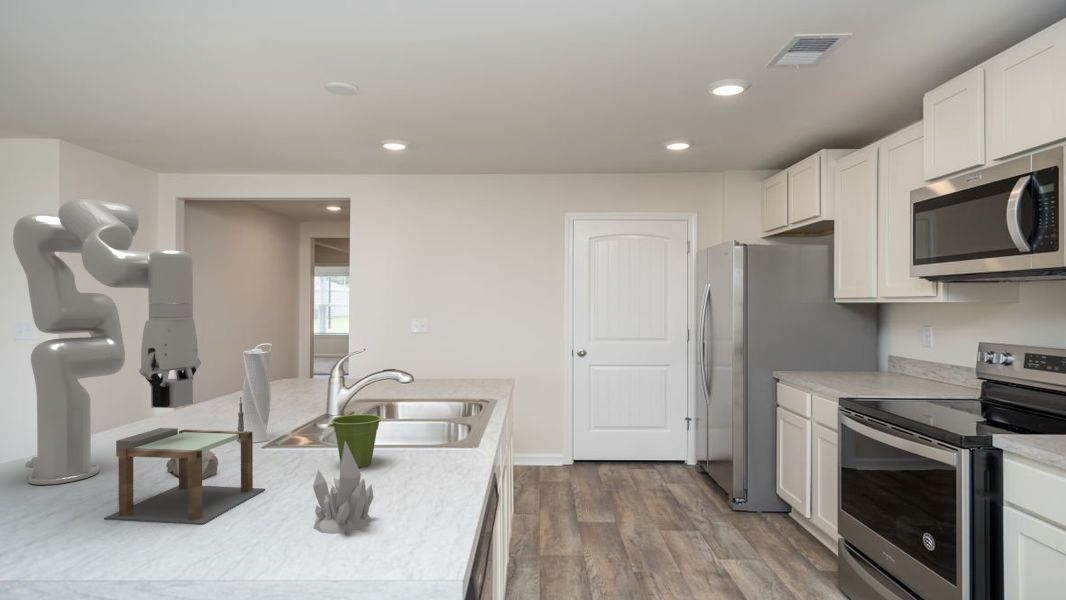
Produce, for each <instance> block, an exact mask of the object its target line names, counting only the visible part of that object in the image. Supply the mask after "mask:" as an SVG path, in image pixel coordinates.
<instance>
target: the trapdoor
mask: <svg viewBox="0 0 1066 600" xmlns="http://www.w3.org/2000/svg"><path fill="white" fill-rule="evenodd" d="M178 430H179V428H174V427H173V428H171V427H158V428H155V429H152V430H149V431H144V432H141V433H138V434H136V435H131V436H128V437H127V436H126V437H124V438H120V439H117V440H116V441H115V443H116V444H115V446H116V447H115V448H116V453H115V456H116V457H118V450H120V449H123V448H140V449H167V450H202V453H203V452H205V451H208V450H210V451H211V450H212V449H215V448H219V447H221V446H223V445H226V444H228V443H231V442H234V441H237V440H238V439H239V434H225V433H194V432H183V433H180V434H179V431H178Z"/></svg>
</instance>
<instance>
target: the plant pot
mask: <svg viewBox="0 0 1066 600" xmlns="http://www.w3.org/2000/svg"><path fill="white" fill-rule="evenodd" d="M381 420H382V417H381V416H379V415H375V414H364V413H363V414H360V413H359V414H346V415H341V416H337V417H334V418H331V419H330V422H331V424H333V430H334V432H335V436H336V444H337V448H338V456H339V461H340V464H341V462H342V456H343V449H344V443H345V441H346V443H347V445H348V447H349V449H350V451H351V453H352V456H353V458H354V460H355V462H356V464H357V466H358V468H361V467H368V466H370V465H371V464H372V461H373V456H374V449H375V444H376V438H377V437H376V436H377V433H378V430H379V425H380V421H381Z"/></svg>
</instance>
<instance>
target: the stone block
mask: <svg viewBox="0 0 1066 600" xmlns="http://www.w3.org/2000/svg"><path fill="white" fill-rule="evenodd" d="M193 381H194V378H193V379H177V378H168V380H167V385H166V386H169V406H168V407H153V394H152V387H151V386H150V408H154V409H156V408H160V409H162V408H163V409H167V408H168V409H176V408H179V407H184V406H188V405H191V404H194V395H193V394H194V391H193V390H194V388H193V387H194V385H193V384H194V383H193Z"/></svg>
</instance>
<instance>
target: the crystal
mask: <svg viewBox="0 0 1066 600" xmlns="http://www.w3.org/2000/svg"><path fill="white" fill-rule="evenodd" d="M361 477H362V473H361V471H360V469H359V467H358V466H357V464H356V462H355V460H354V458H353V456H352V453H351V451H350V449H349V447H348V445H347V443H346V441H345V443H344V449H343V456H342V462H341V463H340V469H339V479H338V478H335V477H333V480H334V481H333V482H334V485H335V486H334V485H333V484H332V485H331V488H330V491H329V488H328V483H327V480H326V479H325V477H324V476H323V475H322V472H321V471H320V469H318V470H317V472H316V476H315V479H314V483H313V485H312V487H313V491H314V494H315V497H316V499H317V502H318V504H319V506H318V505H317V504H316V506H315V510H314V513H315V516H316V519H315V521H314V525H313V530H316V531H318V532H320V533H322V534H329V535H330V534H331V535H336V534H345V533H350V532H353V531H357V530H361V529H363V528H364V527H366V526H368V525H369V524H371V516H370V515H369V510H370V506H371V504H372V502H373V500H374V491H373V487H372V484H370V485H369V486H368V488H366V480H365V478H363V479H362V480H361Z"/></svg>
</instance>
